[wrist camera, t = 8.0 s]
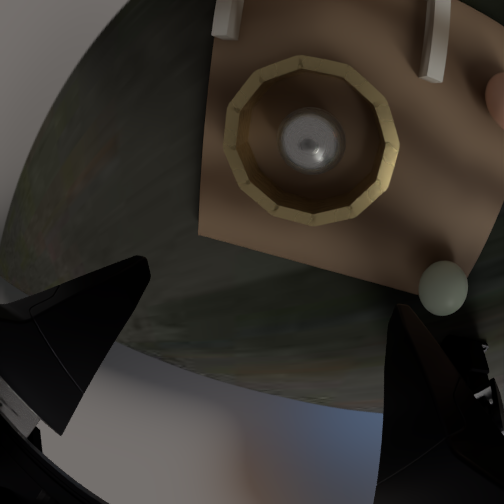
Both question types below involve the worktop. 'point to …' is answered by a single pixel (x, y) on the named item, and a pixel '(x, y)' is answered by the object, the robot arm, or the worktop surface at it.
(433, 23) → the board
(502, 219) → the worktop surface
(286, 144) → the steel ball
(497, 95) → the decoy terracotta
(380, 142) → the race ring
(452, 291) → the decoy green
